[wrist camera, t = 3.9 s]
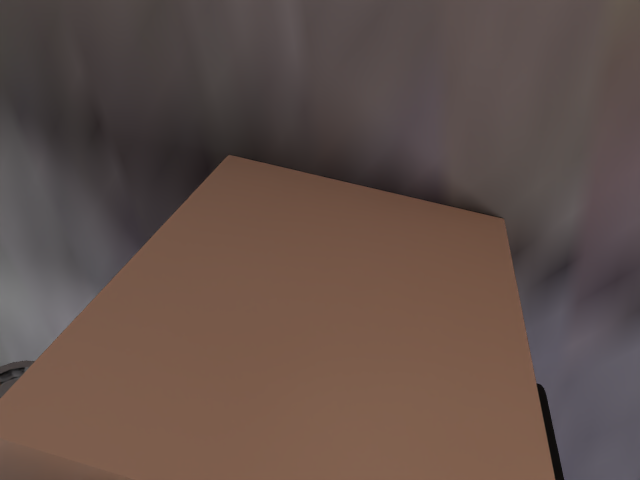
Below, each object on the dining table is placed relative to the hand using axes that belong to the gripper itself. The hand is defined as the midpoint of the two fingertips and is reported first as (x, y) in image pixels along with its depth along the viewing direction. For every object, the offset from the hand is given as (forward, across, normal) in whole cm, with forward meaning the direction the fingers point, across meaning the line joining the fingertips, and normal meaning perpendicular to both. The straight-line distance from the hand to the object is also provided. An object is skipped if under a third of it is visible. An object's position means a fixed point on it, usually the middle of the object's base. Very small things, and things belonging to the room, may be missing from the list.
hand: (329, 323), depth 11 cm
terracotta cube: (+1, 0, 0) cm, 1 cm away
